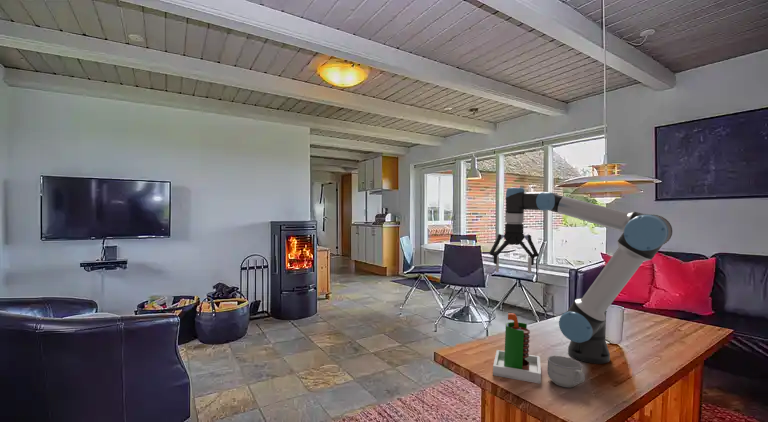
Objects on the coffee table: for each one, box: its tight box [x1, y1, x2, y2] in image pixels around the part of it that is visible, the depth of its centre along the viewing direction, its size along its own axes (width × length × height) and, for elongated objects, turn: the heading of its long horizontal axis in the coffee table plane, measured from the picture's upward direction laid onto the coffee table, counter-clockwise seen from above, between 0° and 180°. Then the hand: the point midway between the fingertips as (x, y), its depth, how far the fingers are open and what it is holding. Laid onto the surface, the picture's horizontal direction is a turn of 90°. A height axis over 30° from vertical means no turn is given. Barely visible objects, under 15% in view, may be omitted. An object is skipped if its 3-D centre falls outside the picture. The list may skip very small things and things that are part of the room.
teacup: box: [546, 355, 586, 388], centre depth 128 cm, size 14×11×8 cm
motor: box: [504, 312, 531, 371], centre depth 140 cm, size 10×9×20 cm
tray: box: [492, 349, 542, 384], centre depth 140 cm, size 16×16×4 cm
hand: (513, 272), depth 162 cm, fingers open, 13 cm apart
